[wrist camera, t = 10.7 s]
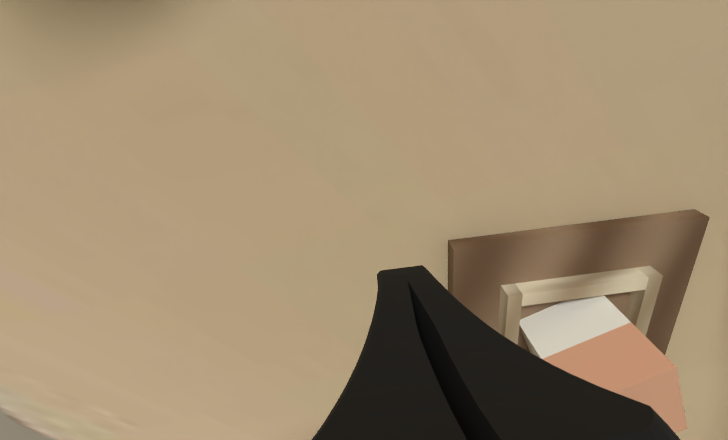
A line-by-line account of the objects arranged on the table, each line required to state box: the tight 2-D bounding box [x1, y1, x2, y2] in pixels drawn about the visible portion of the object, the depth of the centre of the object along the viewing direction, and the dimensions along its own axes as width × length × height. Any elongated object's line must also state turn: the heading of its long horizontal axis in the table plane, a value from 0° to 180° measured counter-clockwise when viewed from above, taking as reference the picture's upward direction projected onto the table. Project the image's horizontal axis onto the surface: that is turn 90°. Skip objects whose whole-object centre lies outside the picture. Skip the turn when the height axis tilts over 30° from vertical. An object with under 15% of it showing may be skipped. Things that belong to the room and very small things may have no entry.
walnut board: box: [448, 209, 710, 355], centre depth 25 cm, size 14×14×2 cm
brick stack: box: [519, 295, 687, 433], centre depth 22 cm, size 5×5×6 cm
